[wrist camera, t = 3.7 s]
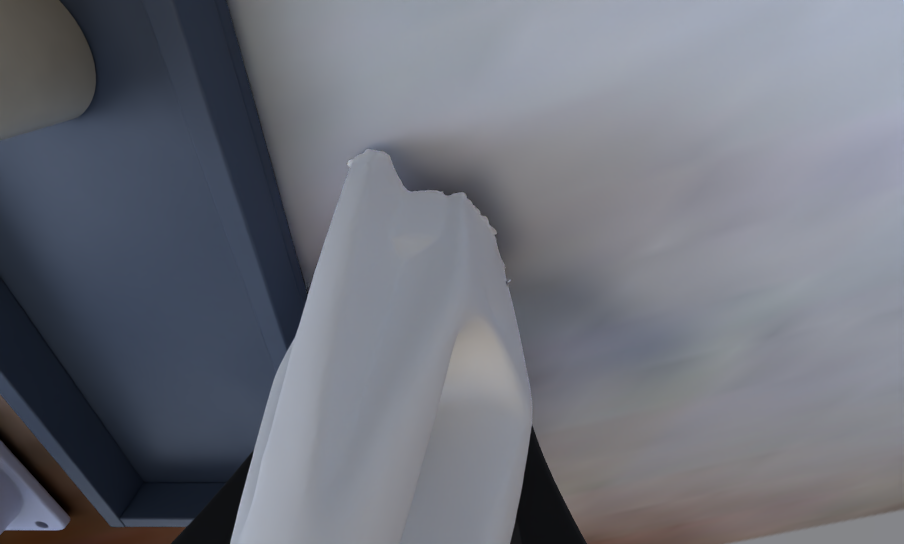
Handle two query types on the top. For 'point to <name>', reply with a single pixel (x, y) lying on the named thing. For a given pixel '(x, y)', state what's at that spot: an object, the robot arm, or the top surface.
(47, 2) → the bottle
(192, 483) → the tray
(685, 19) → the top surface
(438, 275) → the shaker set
